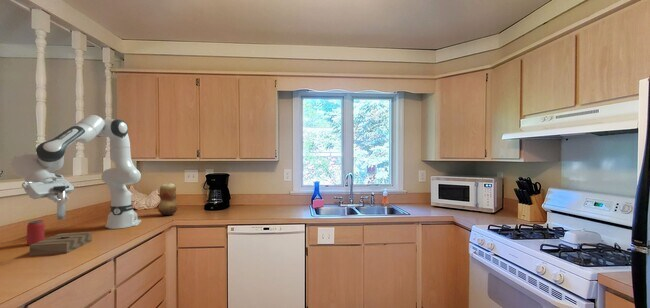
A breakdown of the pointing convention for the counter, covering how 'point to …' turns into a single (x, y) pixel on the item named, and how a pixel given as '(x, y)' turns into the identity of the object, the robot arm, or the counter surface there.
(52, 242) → the brown flat block
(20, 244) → the counter surface
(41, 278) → the counter surface
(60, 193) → the steel peg
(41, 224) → the beer can
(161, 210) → the butternut squash
